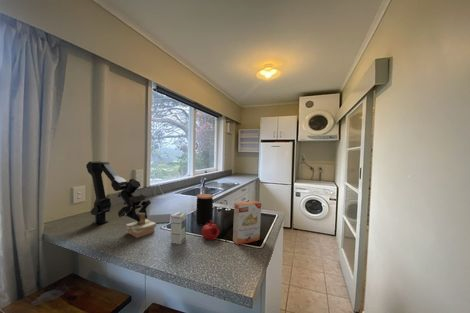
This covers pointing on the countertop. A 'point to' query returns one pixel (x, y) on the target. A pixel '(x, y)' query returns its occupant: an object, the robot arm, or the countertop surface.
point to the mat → (159, 218)
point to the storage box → (141, 232)
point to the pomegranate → (210, 231)
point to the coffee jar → (204, 209)
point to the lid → (140, 224)
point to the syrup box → (178, 227)
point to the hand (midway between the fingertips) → (143, 219)
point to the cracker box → (246, 222)
